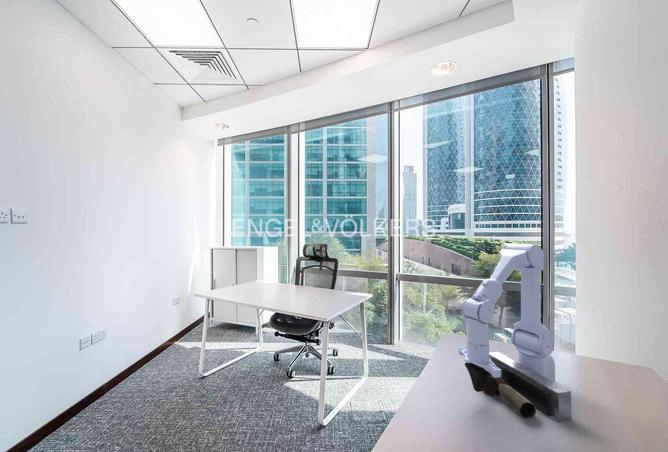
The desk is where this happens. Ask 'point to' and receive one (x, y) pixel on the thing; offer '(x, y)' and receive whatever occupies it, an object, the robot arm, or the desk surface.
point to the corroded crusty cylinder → (509, 396)
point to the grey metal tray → (535, 387)
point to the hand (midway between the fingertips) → (478, 390)
